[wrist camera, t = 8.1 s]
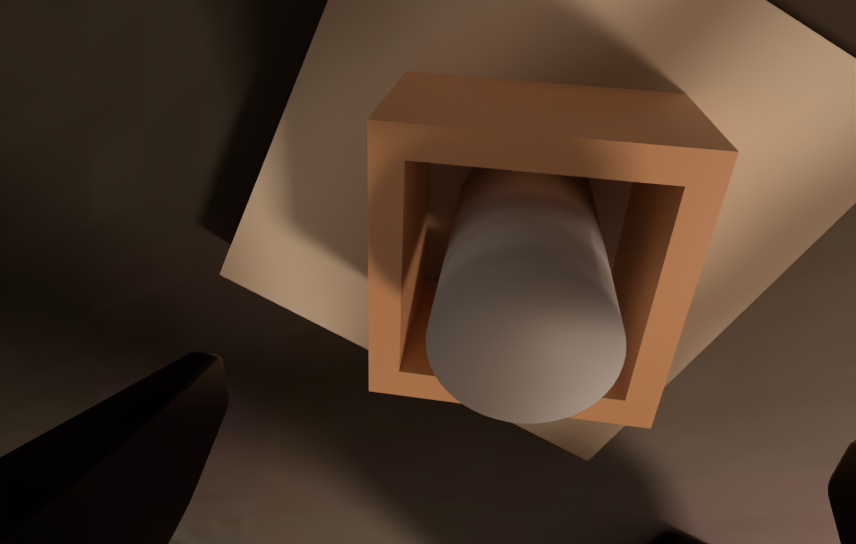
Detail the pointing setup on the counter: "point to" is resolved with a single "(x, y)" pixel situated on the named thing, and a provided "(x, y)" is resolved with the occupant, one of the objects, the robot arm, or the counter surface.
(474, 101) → the open square box
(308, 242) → the duct base
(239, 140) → the counter surface
